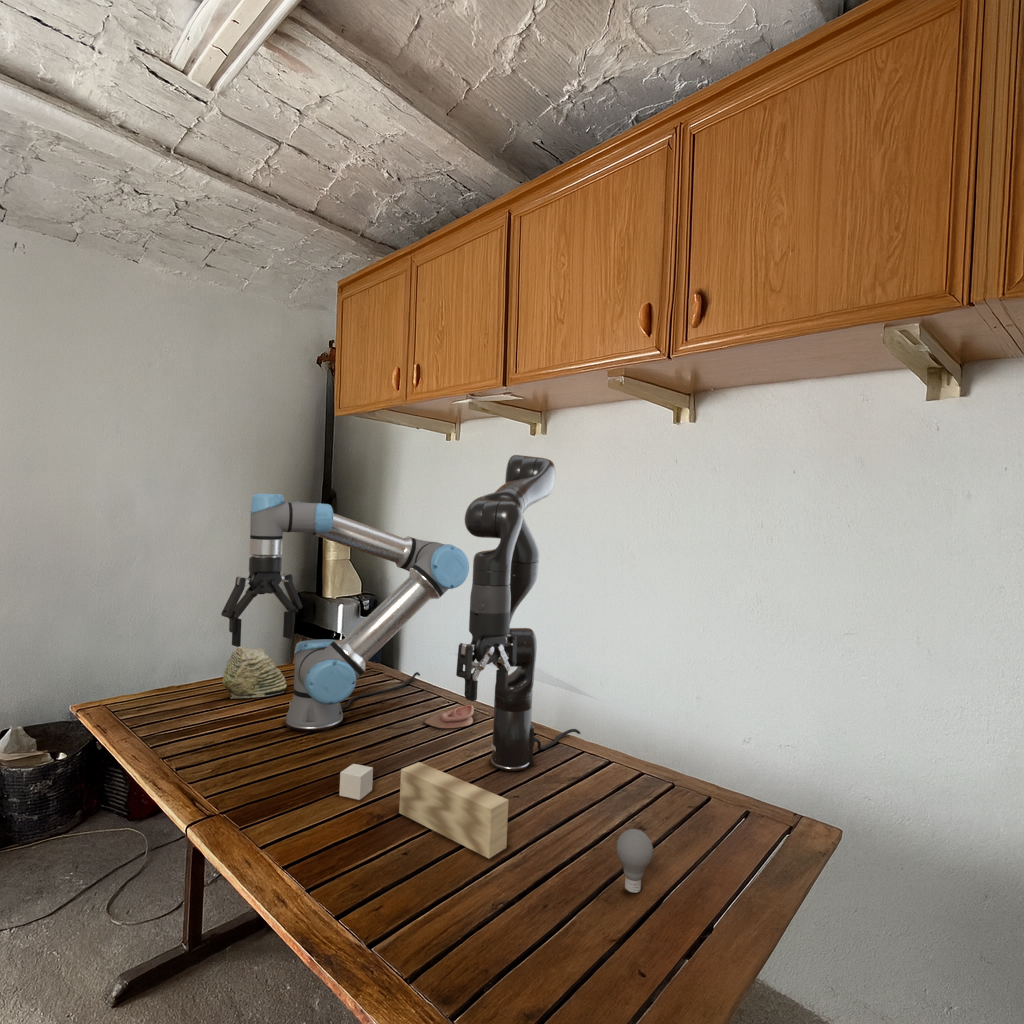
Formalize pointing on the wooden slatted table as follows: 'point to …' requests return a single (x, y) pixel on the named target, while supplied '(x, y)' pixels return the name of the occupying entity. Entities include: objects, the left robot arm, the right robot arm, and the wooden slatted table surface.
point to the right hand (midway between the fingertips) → (486, 694)
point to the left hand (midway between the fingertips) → (262, 641)
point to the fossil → (252, 674)
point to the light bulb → (634, 857)
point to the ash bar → (454, 808)
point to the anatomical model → (452, 718)
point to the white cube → (356, 781)
